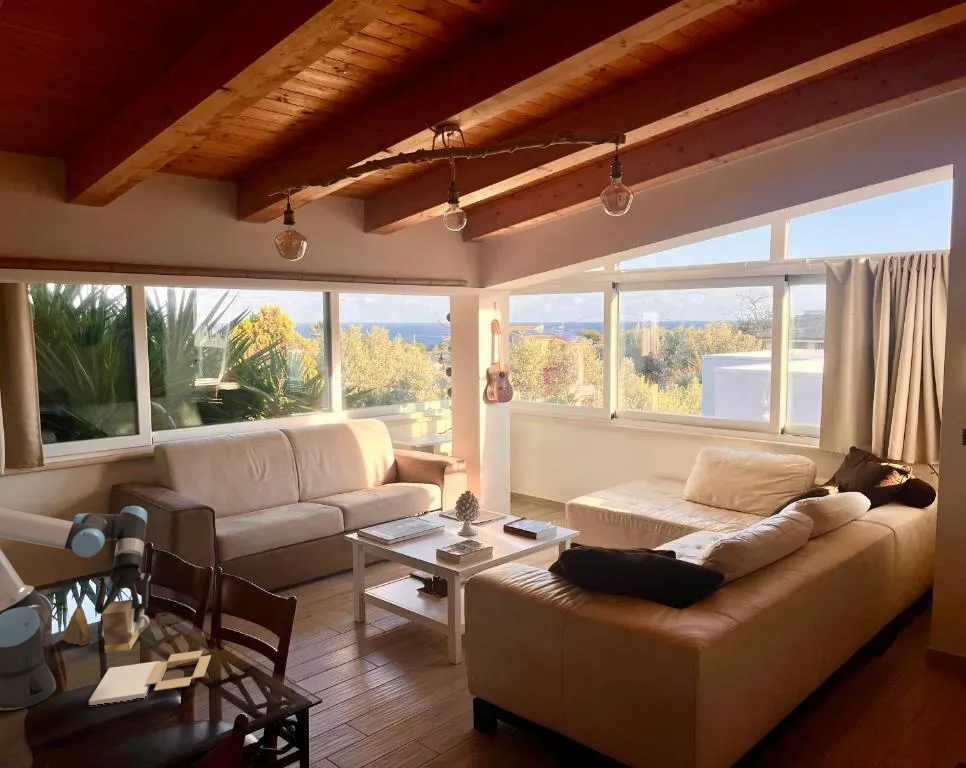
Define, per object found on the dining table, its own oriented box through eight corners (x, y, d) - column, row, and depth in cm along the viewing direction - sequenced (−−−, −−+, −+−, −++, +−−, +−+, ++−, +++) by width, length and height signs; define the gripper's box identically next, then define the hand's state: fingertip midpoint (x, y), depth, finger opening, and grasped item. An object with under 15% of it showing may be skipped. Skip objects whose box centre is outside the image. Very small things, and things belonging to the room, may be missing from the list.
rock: (98, 636, 235) (99, 620, 244) (77, 621, 231) (78, 605, 240) (70, 661, 233) (72, 644, 242) (48, 646, 229) (51, 629, 238)
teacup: (102, 641, 237) (99, 617, 236) (132, 626, 246) (129, 603, 245) (131, 648, 230) (128, 624, 229) (160, 633, 240) (158, 609, 239)
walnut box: (105, 652, 202) (100, 614, 201) (114, 638, 210) (110, 601, 209) (130, 649, 203) (126, 611, 202) (138, 635, 212) (134, 599, 210)
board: (89, 706, 198) (88, 701, 198) (109, 672, 216) (109, 667, 216) (145, 698, 201) (144, 693, 201) (160, 665, 218) (160, 660, 218)
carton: (142, 698, 201) (141, 691, 200) (160, 662, 220) (159, 656, 220) (201, 690, 203) (200, 683, 203) (214, 655, 223) (213, 648, 223)
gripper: (165, 559, 222) (157, 635, 208) (97, 566, 219) (84, 644, 205) (159, 548, 216) (151, 625, 203) (89, 555, 213) (75, 634, 199)
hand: (117, 635), depth 204 cm, fingers closed on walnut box, 6 cm apart
